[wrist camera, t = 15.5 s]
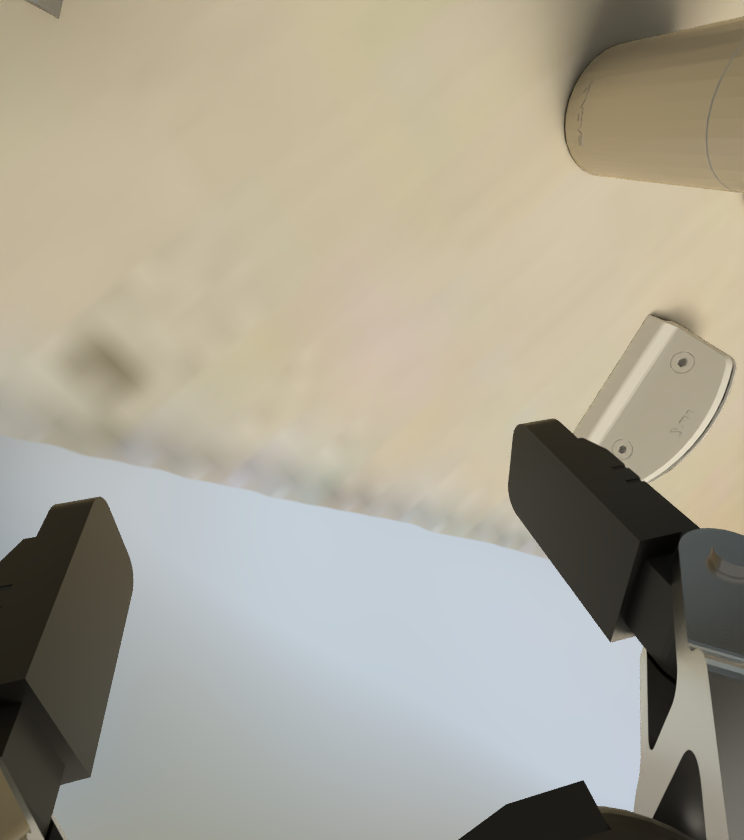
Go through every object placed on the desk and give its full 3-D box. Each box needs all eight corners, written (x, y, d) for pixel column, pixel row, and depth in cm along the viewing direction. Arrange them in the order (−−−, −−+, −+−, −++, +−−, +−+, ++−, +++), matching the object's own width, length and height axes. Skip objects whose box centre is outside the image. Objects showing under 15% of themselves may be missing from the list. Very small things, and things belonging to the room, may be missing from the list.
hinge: (650, 311, 51) (752, 354, 45) (668, 319, 54) (765, 362, 48) (564, 446, 57) (641, 502, 51) (584, 447, 61) (659, 500, 54)
